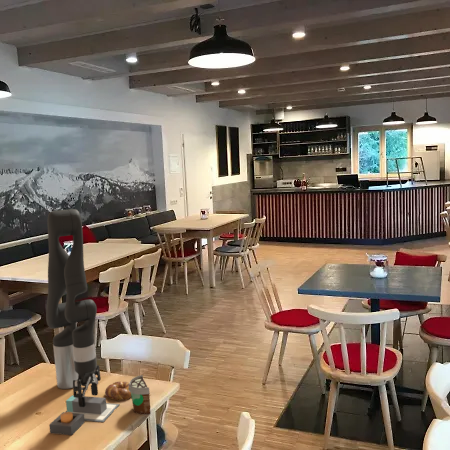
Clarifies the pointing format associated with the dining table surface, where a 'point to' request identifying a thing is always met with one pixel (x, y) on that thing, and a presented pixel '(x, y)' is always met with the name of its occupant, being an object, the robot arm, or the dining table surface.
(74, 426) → the button housing
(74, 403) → the marker
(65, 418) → the button
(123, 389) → the pretzel
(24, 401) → the dining table surface
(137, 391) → the food container
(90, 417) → the drawing board
